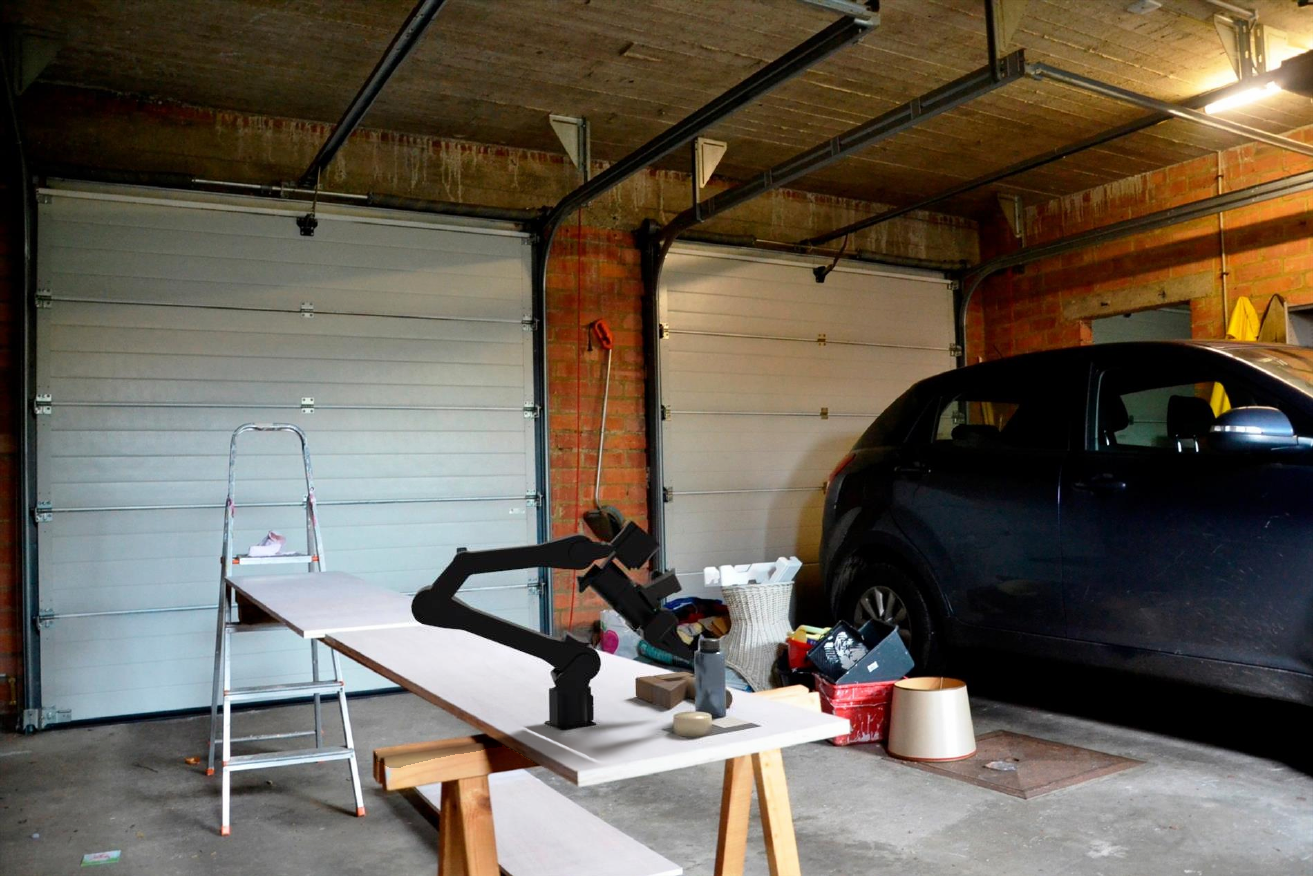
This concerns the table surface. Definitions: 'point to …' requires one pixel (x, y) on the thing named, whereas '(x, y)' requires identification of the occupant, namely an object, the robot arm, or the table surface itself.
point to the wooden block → (669, 689)
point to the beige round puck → (692, 724)
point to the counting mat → (722, 726)
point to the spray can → (710, 678)
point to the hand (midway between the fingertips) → (685, 654)
